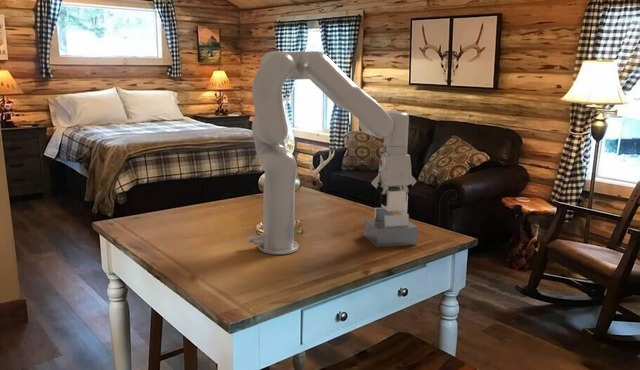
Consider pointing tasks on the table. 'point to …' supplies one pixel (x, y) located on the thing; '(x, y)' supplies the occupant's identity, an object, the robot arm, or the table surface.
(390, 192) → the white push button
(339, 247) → the table surface
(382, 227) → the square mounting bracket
